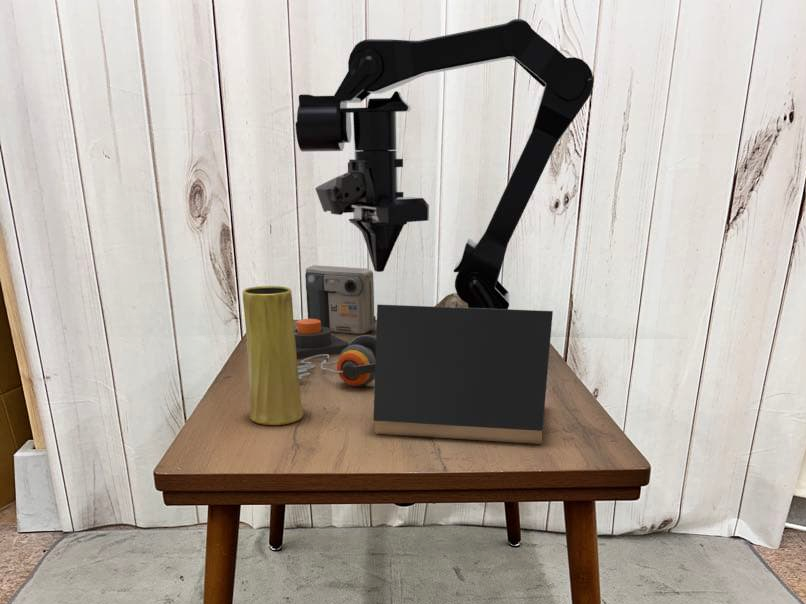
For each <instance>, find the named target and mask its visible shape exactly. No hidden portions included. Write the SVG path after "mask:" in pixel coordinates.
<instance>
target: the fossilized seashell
mask: <svg viewBox="0 0 806 604" xmlns="http://www.w3.org/2000/svg"><path fill="white" fill-rule="evenodd" d="M433 307H459V308H469V307H468V304H467V303H466V302H464V301H463V300H461V298H460V297H459V296H458V294H457V292H452V293H450V294H448V295H445V297H444V298H442V299H441V300H440V301H439V302H438V303H437V304H435V306H433Z"/></svg>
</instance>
